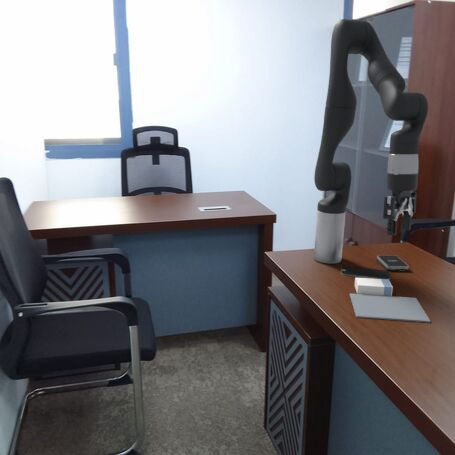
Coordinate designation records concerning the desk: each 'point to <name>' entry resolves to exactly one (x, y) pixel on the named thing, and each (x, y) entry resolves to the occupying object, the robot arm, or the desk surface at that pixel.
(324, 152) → the robot arm
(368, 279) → the card box
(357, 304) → the mat
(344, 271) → the smartphone
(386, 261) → the external hard drive
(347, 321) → the desk surface
